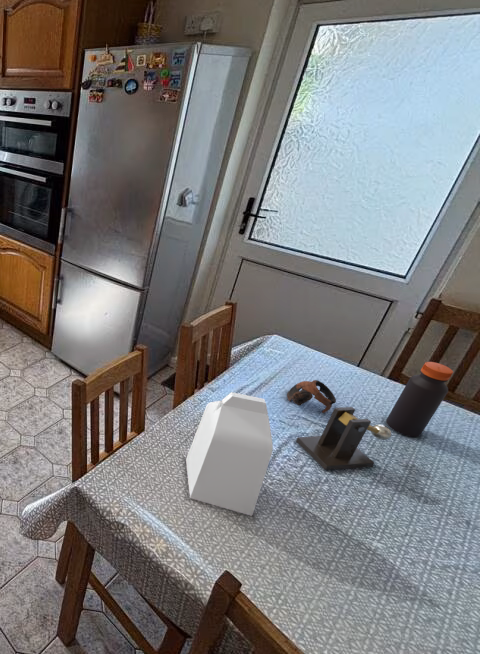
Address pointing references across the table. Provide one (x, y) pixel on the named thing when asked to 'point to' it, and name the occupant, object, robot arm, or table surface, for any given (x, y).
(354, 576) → the table surface
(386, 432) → the tap lever
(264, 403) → the milk
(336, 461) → the dark grey lever stand
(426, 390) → the bottle
